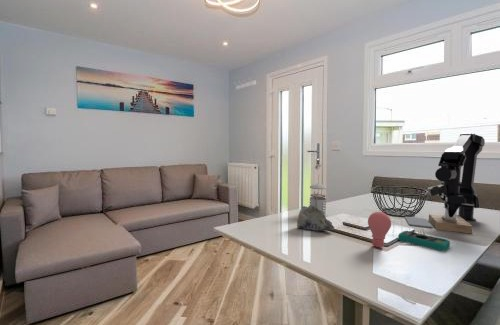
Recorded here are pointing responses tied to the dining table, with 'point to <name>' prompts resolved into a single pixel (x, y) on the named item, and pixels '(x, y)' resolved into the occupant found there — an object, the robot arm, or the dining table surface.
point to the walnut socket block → (450, 224)
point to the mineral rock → (313, 219)
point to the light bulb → (379, 227)
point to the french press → (318, 197)
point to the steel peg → (446, 215)
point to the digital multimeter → (424, 240)
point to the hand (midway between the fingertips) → (449, 215)
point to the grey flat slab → (418, 222)
